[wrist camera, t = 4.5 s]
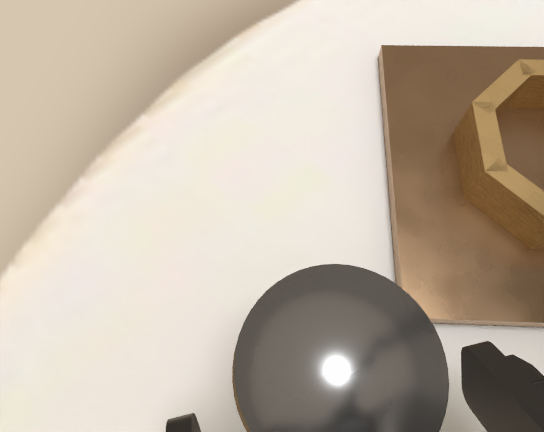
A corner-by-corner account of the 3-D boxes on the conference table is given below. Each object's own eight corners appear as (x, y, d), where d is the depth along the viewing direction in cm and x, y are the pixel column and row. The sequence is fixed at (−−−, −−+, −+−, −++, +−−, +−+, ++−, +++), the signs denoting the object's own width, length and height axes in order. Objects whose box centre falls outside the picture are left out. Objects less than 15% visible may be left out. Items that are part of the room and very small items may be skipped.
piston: (367, 330, 20) (439, 260, 11) (375, 456, 18) (473, 504, 8) (256, 327, 20) (234, 256, 11) (251, 452, 18) (218, 495, 9)
